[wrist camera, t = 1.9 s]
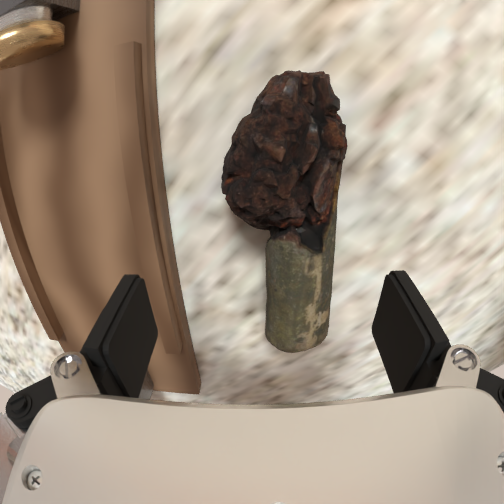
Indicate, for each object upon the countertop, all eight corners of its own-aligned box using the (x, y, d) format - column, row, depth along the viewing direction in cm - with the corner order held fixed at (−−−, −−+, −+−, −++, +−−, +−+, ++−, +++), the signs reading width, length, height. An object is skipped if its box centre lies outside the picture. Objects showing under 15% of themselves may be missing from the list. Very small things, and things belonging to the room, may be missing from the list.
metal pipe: (324, 310, 24) (335, 363, 20) (241, 313, 25) (236, 367, 20) (335, 74, 16) (365, 70, 11) (222, 76, 16) (204, 70, 11)
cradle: (156, -50, 11) (142, -65, 9) (201, 382, 29) (197, 404, 27) (-1, 15, 11) (-22, 14, 9) (84, 369, 30) (76, 386, 27)
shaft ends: (86, -28, 10) (34, -51, 5) (156, 385, 27) (143, 433, 22) (22, 2, 10) (-33, -4, 5) (108, 378, 28) (91, 423, 23)
